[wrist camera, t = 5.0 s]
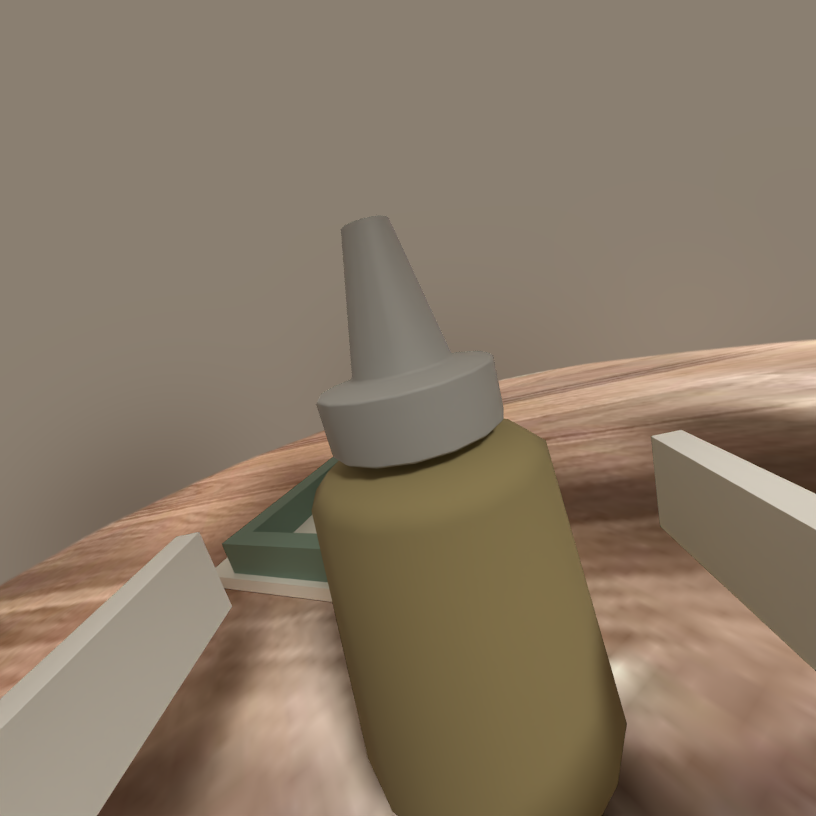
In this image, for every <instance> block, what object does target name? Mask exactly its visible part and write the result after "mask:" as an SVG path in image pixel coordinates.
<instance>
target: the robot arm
mask: <svg viewBox="0 0 816 816" xmlns="http://www.w3.org/2000/svg"><path fill="white" fill-rule="evenodd" d="M651 441H652V451H653V461H654V471H655V481H656V491H657V501H658V512H659V522H660V527H661V528H662V529H663V530H665V531H666V532H667V533H668V534H669V535H670V536H671V537H672V538H673V539H674V540H675V541H676V542H677V543H679V544H680V545H681V546H682V547H683V548H684V549H685V550H686V551H687V552H688V553H689V554H690V555H691V556H693V557H694V558H695V559H696V560H697V561H698V562H699V563H700V564H701V565H702V566H703V567H704V568H705V569H706V570H708V571H709V572H710V573H711V574H712V575H713V576H714V577H715V578H716V579H717V580H718V581H719V582H720V583H722V584H723V585H724V586H725V587H726V588H727V589H728V590H729V591H730V592H731V593H732V594H733V595H734V596H736V597H737V598H738V599H739V600H740V601H741V602H742V603H743V604H744V605H745V606H746V607H747V608H748V609H750V610H751V611H752V612H753V613H754V614H755V615H756V616H757V617H758V618H759V619H760V620H761V621H762V622H763V623H765V624H766V625H767V626H768V627H769V628H770V629H771V630H772V631H773V632H774V633H775V634H776V635H777V636H779V637H780V638H781V639H782V640H783V641H784V642H785V643H786V644H787V645H788V646H789V647H790V648H791V649H793V650H794V651H795V652H796V653H797V654H798V655H799V656H800V657H801V658H802V659H803V660H804V661H805V662H807V663H808V664H809V665H810V666H811V667H812V668H813V669H814V670H815V671H816V494H815V493H813V492H811V491H809V490H807V489H804V488H802V487H800V486H798V485H796V484H794V483H792V482H790V481H788V480H786V479H783V478H781V477H779V476H777V475H775V474H773V473H771V472H769V471H767V470H765V469H762V468H760V467H758V466H756V465H754V464H752V463H750V462H748V461H746V460H744V459H742V458H739V457H737V456H735V455H733V454H731V453H729V452H727V451H725V450H723V449H721V448H718V447H716V446H714V445H712V444H710V443H708V442H706V441H704V440H702V439H700V438H697V437H695V436H693V435H691V434H689V433H687V432H685V431H683V430H678V431H673V432H668V433H664V434H659V435H654V436H651ZM231 607H232V605H231V603H230V601H229V598H228V596H227V594H226V592H225V589H224V587H223V585H222V582H221V580H220V578H219V576H218V573H217V571H216V569H215V567H214V564H213V562H212V560H211V557H210V555H209V553H208V551H207V548H206V546H205V544H204V542H203V539H202V537H201V535H200V533H199V532H196V533H192V534H187V535H182V536H178V537H175V538H174V539H173V540H172V541H171V542H170V543H169V544H168V545H167V546H166V547H165V548H163V549H162V550H161V551H160V552H159V553H158V554H157V555H156V556H155V557H154V558H153V559H152V560H150V561H149V562H148V563H147V564H146V565H145V566H144V567H143V568H142V569H141V570H140V571H139V572H137V573H136V574H135V575H134V576H133V577H132V578H131V579H130V580H129V581H128V582H127V583H126V584H124V585H123V586H122V587H121V588H120V589H119V590H118V591H117V592H116V593H115V594H114V595H112V596H111V597H110V598H109V599H108V600H107V601H106V602H105V603H104V604H103V605H102V606H101V607H99V608H98V609H97V610H96V611H95V612H94V613H93V614H92V615H91V616H90V617H89V618H88V619H86V620H85V621H84V622H83V623H82V624H81V625H80V626H79V627H78V628H77V629H76V630H75V631H73V632H72V633H71V634H70V635H69V636H68V637H67V638H66V639H65V640H64V641H63V642H61V643H60V644H59V645H58V646H57V647H56V648H55V649H54V650H53V651H52V652H51V653H50V654H48V655H47V656H46V657H45V658H44V659H43V660H42V661H41V662H40V663H39V664H38V665H37V666H35V667H34V668H33V669H32V670H31V671H30V672H29V673H28V674H27V675H26V676H25V677H24V678H22V679H21V680H20V681H19V682H18V683H17V684H16V685H15V686H14V687H13V688H12V689H10V690H9V691H8V692H7V693H6V694H5V695H4V696H3V697H2V698H1V699H0V816H97V815H98V813H99V812H100V810H101V809H102V807H103V806H104V804H105V803H106V801H107V799H108V798H109V796H110V795H111V793H112V792H113V790H114V789H115V787H116V785H117V784H118V782H119V781H120V779H121V778H122V776H123V775H124V773H125V772H126V770H127V768H128V767H129V765H130V764H131V762H132V761H133V759H134V758H135V756H136V754H137V753H138V751H139V750H140V748H141V747H142V745H143V744H144V742H145V741H146V739H147V737H148V736H149V734H150V733H151V731H152V730H153V728H154V727H155V725H156V723H157V722H158V720H159V719H160V717H161V716H162V714H163V713H164V711H165V710H166V708H167V706H168V705H169V703H170V702H171V700H172V699H173V697H174V696H175V694H176V692H177V691H178V689H179V688H180V686H181V685H182V683H183V682H184V680H185V679H186V677H187V675H188V674H189V672H190V671H191V669H192V668H193V666H194V665H195V663H196V661H197V660H198V658H199V657H200V655H201V654H202V652H203V651H204V649H205V648H206V646H207V644H208V643H209V641H210V640H211V638H212V637H213V635H214V634H215V632H216V630H217V629H218V627H219V626H220V624H221V623H222V621H223V620H224V618H225V617H226V615H227V613H228V612H229V610H230V609H231Z"/></svg>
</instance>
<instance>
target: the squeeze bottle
mask: <svg viewBox="0 0 816 816" xmlns="http://www.w3.org/2000/svg"><path fill="white" fill-rule="evenodd" d="M341 236H342V249H343V262H344V275H345V289H346V302H347V315H348V329H349V342H350V354H351V368H352V379H351V380H348V381H346V382H344V383H341V384H339V385H336V386H334V387H333V388H331V389H329V390H327V391H326V392H324V393H322V394H321V395H320V398H319V400H318V402H317V408H318V411H319V414H320V417H321V420H322V423H323V427H324V430H325V433H326V436H327V439H328V442H329V445H330V448H331V451H332V455H333V457H334V458H336V459H337V460H339V461H338V462H337V463H336V464H335V465H334V466H333V467H332V468H331V469H330V470H329V471H328V472H327V474H326V476H325V477H324V479H323V480H322V482H321V483H320V485H319V486H318V488H317V489H316V493H315V497H314V502H313V506H312V515H313V520H314V524H315V528H316V533H317V537H318V542H319V546H320V550H321V555H322V559H323V563H324V568H325V572H326V576H327V581H328V585H329V590H330V594H331V598H332V603H333V607H334V611H335V616H336V620H337V624H338V629H339V633H340V638H341V642H342V646H343V651H344V655H345V659H346V664H347V668H348V672H349V677H350V681H351V686H352V690H353V694H354V699H355V703H356V707H357V712H358V716H359V720H360V725H361V729H362V733H363V738H364V742H365V747H366V751H367V755H368V759H369V761H370V763H371V765H372V767H373V770H374V772H375V774H376V776H377V778H378V781H379V783H380V785H381V787H382V789H383V791H384V794H385V796H386V798H387V800H388V802H389V804H390V807H391V809H392V811H393V812H394V813H395V814H396V815H398V816H602V814H603V812H604V810H605V808H606V807H607V805H608V803H609V801H610V799H611V797H612V795H613V793H614V791H615V789H616V787H617V785H618V778H619V771H620V765H621V758H622V751H623V745H624V738H625V732H626V725H627V723H626V719H625V716H624V712H623V709H622V705H621V702H620V698H619V695H618V691H617V688H616V684H615V681H614V677H613V673H612V670H611V666H610V663H609V659H608V656H607V652H606V649H605V646H604V642H603V639H602V635H601V632H600V628H599V625H598V621H597V618H596V614H595V611H594V607H593V604H592V600H591V597H590V593H589V590H588V586H587V583H586V579H585V576H584V572H583V569H582V565H581V562H580V558H579V555H578V551H577V548H576V544H575V541H574V538H573V534H572V531H571V527H570V524H569V520H568V517H567V513H566V510H565V506H564V503H563V499H562V496H561V492H560V489H559V485H558V482H557V478H556V475H555V471H554V468H553V464H552V461H551V457H550V454H549V450H548V447H547V443H546V440H544V439H542V438H540V437H539V436H537V435H535V434H534V433H532V432H530V431H529V430H527V429H525V428H523V427H521V426H520V425H518V424H516V423H514V422H512V421H510V420H508V419H503V403H502V398H501V393H500V388H499V383H498V378H497V373H496V368H495V362H494V357H493V355H492V354H490V353H487V352H481V351H472V352H471V351H469V352H456V353H451V352H450V350H449V347H448V345H447V343H446V341H445V339H444V336H443V334H442V332H441V330H440V328H439V326H438V323H437V322H436V319H435V317H434V315H433V313H432V310H431V308H430V306H429V304H428V302H427V300H426V297H425V295H424V293H423V291H422V289H421V287H420V285H419V282H418V280H417V278H416V276H415V274H414V272H413V270H412V267H411V265H410V263H409V261H408V259H407V256H406V254H405V252H404V250H403V248H402V246H401V243H400V241H399V239H398V237H397V235H396V233H395V230H394V228H393V226H392V224H391V222H390V220H389V218H388V217H387V216H372V217H367V218H363V219H359V220H356V221H354V222H351V223H349V224H347V225H345V226H344V227H343V228H342V229H341Z"/></svg>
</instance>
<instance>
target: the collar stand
mask: <svg viewBox="0 0 816 816" xmlns="http://www.w3.org/2000/svg"><path fill="white" fill-rule="evenodd" d="M338 461H339V460H337V459H336V458H334V457H332V458H331V459H330V460H328V461H327V462H326V463H325V464H323V465H322V466H321V467H319V468H318V469H317V470H316V471H314V472H313V473H312V474H310V475H309V476H308V477H307V478H305V479H304V480H303V481H302V482H300V483H299V484H298V485H296V486H295V487H294V488H293V489H291V490H290V491H289V492H288V493H286V494H285V495H284V496H282V497H281V498H280V499H279V500H277V501H276V502H275V503H273V504H272V505H271V506H270V507H268V508H267V509H266V510H265V511H263V512H262V513H261V514H259V515H258V516H257V517H256V518H254V519H253V520H252V521H250V522H249V523H248V524H247V525H245V526H244V527H243V528H242V529H240V530H239V531H238V532H236V533H235V534H234V535H233V536H231V537H230V538H229V539H228V540H226V541H225V542H224V543H222V545H223V548H224V550H225V553H226V555H227V557H228V558H226V559H225V560H224V561H223V562H222V563H220V564H219V565H218V566H217V567H216V568H215V569H216V571H217V573H218V576H219V578H220V580H221V582H222V585H223V587H224V588H226V589H234V590H242V591H250V592H257V593H265V594H273V595H281V596H289V597H297V598H305V599H313V600H320V601H328V602H332V598H331V594H330V590H329V585H328V581H327V576H326V572H325V568H324V563H323V559H322V555H321V550H320V546H319V542H318V537H317V533H316V528H315V524H314V520H313V515H312V506H313V502H314V497H315V493H316V489H317V488H318V486H319V485H320V483H321V482H322V480H323V479H324V477H325V476H326V474H327V472H328V471H329V470H330V469H331V468H332V467H333V466H334V465H335V464H336V463H337V462H338Z"/></svg>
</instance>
